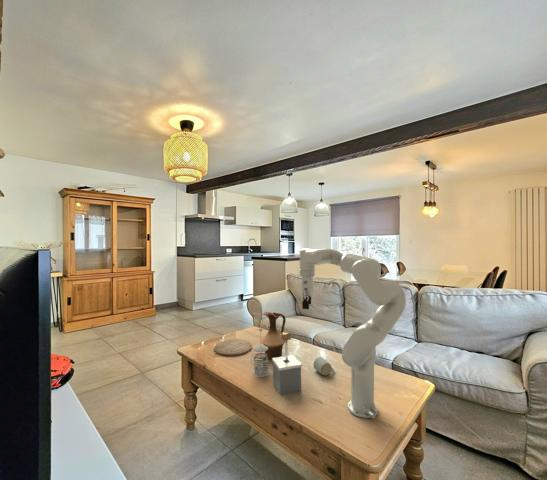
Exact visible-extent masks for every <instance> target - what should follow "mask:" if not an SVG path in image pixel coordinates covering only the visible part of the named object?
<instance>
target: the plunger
mask: <svg viewBox="0 0 547 480" xmlns="http://www.w3.org/2000/svg"><path fill="white" fill-rule="evenodd" d="M280 335H281V339H283V340H285V343H284V345H285V346H284V348H285V349H284V351H285V352H284V354H285V355H284V356H285V363H287V362H288V356H289V353H288V347H289V346H288V341H290V340H291V339H292V332H290V331H284V332H282V333H281V332H280Z"/></svg>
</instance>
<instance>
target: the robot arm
mask: <svg viewBox="0 0 547 480" xmlns="http://www.w3.org/2000/svg"><path fill="white" fill-rule="evenodd" d="M325 264H330V265H334V266H339V267H340V269H341V271H342V272H344V273H347V274H351V275H352V276H353V278H354V280H355V282H356V283H357V284H358V286H359V287H360V288H361V290H362V291H363V293H364V294H365V296H366V297H367V299H368V300H369V301H370V302H372V304H374V305H376V306H379V307H378V308H377V309H376V311H375V312H374V314H373V315H372V317H371V318H370V319H369V320H367V322H364V323H363V324H360V325H359V326H358V327H357V328H355V330H354V331H353V333H352V334H351V335H350V336H349V338H348V340H346V343H345V344H344V346H343V347H342V349H341V358H342V361H343V363H344V364H345V365H346V366H347V367H349V368H351V369H350V370H351V371H350V373H351V374H350V375H351V377H350V379H351V380H350V381H351V382H350V383H351V384H350V387H351V388H350V390H351V391H350V392H351V393H350V394H351V397H350V398H351V399H350V400H349V401H347V409H348V411H349V412H350V413H351V414H353V415H354V416H355V417H358V418H363V419H370V418H371V419H375V418H376V416H378V414H379V411H378V406H377V405H376V404H375V387H374V385H375V363H376V356H377V355H376V354H377V352H376V351H377V350H376V349H377V348H376V347H378V346H379V345H380V344H381V343H383V342H384V340H385V339H386V337H387V336H388V334H389V333H390V332H391V330H393V328H394V326H395V325H396V323H397V322H398V321H399V319H400V318H401V316H402V315H403V312H404V311H405V309H406V308H405V307H406V305H407V303H406V302H407V299H406V298H407V297H406V293H405V290H404V288H403V287H402V285H401V284H400V283H399V282H396V281H394V280H384V281H381V280H380V278H379V277H378V276H379V275H380V274H381V271H382V265H381V263H380V262H379V261H378V260H376V259H375V258H370V257H366V256H361V255H356V254H351V253H348V252H345V251H343V250H337V249H333V248H318V249H315V248H306V247H305V248H301V249H299V277H301V296H302V304H301V305H302V306H301V307H302V308H301V309H302V310H309V309H310V305H311V304H312V296H313V294H314V277H315V275H316V274H315V272H316V269H315V265H316V266H317V265H319V266H320V265H325Z"/></svg>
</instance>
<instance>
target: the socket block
mask: <svg viewBox="0 0 547 480" xmlns="http://www.w3.org/2000/svg"><path fill="white" fill-rule="evenodd" d="M271 361H272V384H273V385H274V388H276V389H275V390H276V391H277V392H278V394H279V395H280V396H281V395H286V394H292V393H295V392H296V393H297V392H301V391H302V367H303V365H302V363H301V362H300V361H299V360H298V358H297V357H296V356H295V355H293V354H290V355H289V354H288V362H287V363H285V355H284V356H283V355H282V357H276V358H272V360H271Z"/></svg>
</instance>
